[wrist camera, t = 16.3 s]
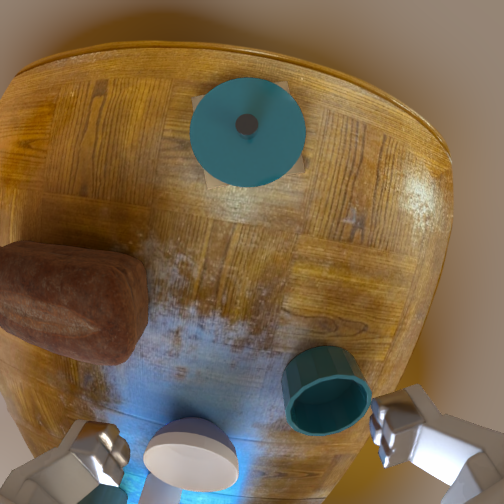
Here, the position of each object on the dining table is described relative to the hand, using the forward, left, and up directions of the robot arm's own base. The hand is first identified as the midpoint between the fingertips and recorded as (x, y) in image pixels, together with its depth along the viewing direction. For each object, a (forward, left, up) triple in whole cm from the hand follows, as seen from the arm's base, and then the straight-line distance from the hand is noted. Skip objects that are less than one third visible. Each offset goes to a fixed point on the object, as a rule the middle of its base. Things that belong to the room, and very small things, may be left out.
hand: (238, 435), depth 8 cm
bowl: (+16, +34, -31) cm, 49 cm away
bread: (+28, +2, -31) cm, 42 cm away
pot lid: (-2, -13, -29) cm, 32 cm away
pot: (-7, +24, -31) cm, 40 cm away
